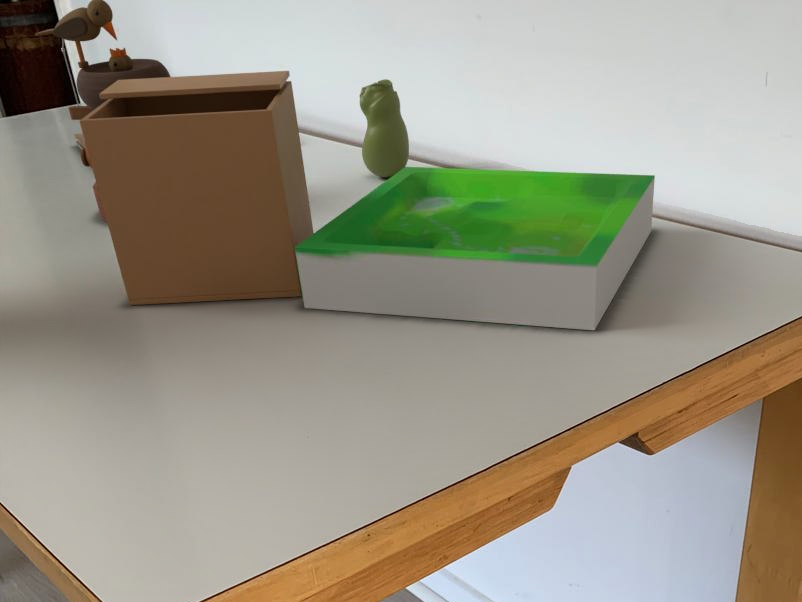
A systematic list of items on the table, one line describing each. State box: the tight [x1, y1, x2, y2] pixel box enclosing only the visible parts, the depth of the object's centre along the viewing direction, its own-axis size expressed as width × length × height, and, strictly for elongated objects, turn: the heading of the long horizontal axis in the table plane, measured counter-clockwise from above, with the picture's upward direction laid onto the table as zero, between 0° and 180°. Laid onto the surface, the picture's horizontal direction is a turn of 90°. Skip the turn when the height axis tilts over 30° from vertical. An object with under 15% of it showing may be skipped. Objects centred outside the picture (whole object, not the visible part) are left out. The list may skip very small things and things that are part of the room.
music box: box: [35, 0, 171, 223], centre depth 102 cm, size 15×11×20 cm
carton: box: [79, 80, 315, 306], centre depth 85 cm, size 15×12×14 cm
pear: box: [359, 78, 410, 178], centre depth 111 cm, size 6×5×10 cm
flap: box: [99, 70, 291, 99], centre depth 82 cm, size 15×6×1 cm, turn 91°
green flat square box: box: [295, 166, 656, 331], centre depth 87 cm, size 25×25×5 cm
